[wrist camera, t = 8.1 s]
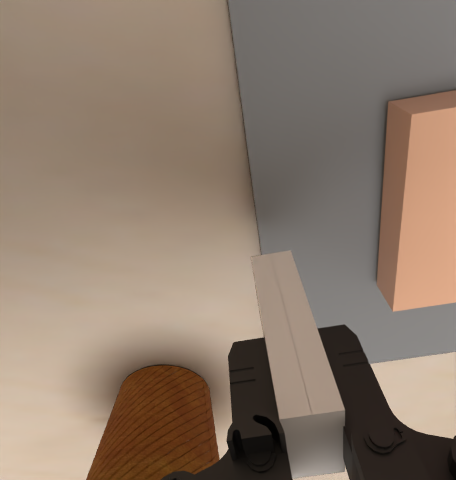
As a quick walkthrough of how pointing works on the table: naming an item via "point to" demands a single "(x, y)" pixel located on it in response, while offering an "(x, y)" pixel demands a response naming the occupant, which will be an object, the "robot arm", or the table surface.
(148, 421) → the disposable coffee cup
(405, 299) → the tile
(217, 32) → the table surface
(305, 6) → the mat
